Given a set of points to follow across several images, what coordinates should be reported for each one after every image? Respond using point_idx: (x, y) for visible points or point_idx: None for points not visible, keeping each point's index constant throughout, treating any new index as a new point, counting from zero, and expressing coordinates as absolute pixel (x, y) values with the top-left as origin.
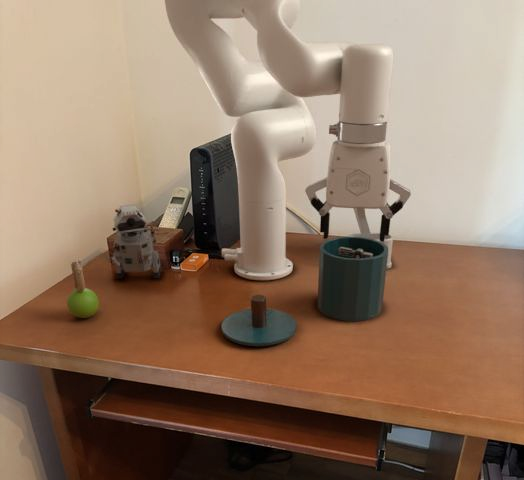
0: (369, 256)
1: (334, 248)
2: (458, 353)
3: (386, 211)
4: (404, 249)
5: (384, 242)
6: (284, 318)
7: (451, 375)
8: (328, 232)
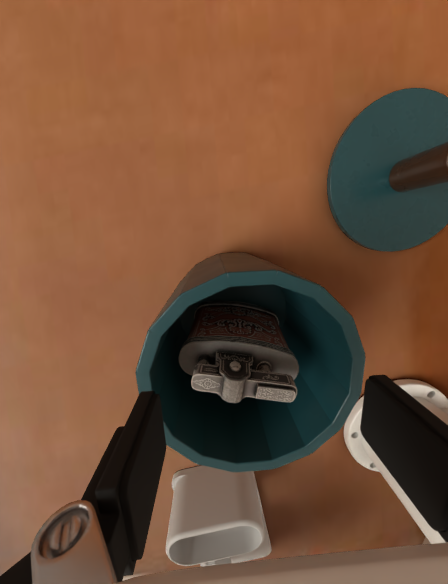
0: (200, 370)
1: (304, 414)
2: (12, 157)
3: (69, 568)
4: (156, 544)
5: (182, 528)
6: (354, 212)
7: (13, 57)
8: (367, 422)
